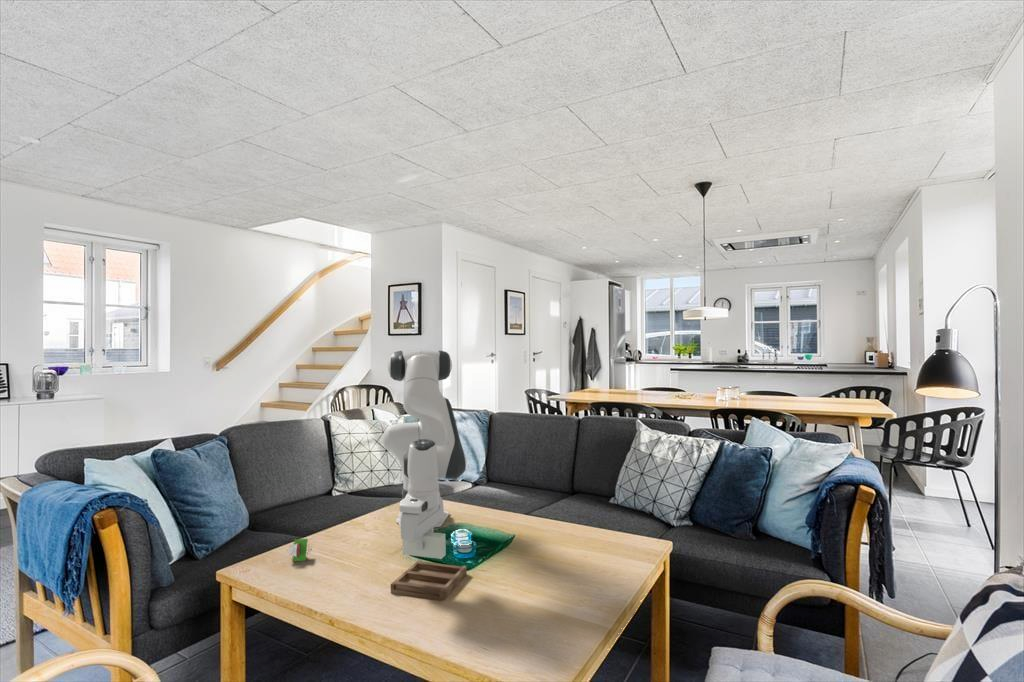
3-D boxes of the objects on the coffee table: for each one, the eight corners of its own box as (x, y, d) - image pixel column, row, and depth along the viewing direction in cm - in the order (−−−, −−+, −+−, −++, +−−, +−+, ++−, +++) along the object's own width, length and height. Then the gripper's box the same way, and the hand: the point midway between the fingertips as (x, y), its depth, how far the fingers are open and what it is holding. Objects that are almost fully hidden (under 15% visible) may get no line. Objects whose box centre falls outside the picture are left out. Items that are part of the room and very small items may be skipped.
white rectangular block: (407, 550, 158) (407, 529, 158) (445, 554, 155) (445, 533, 155) (402, 554, 156) (402, 533, 155) (441, 558, 152) (441, 537, 152)
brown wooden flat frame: (418, 567, 169) (418, 559, 169) (466, 574, 164) (466, 566, 164) (390, 593, 153) (390, 584, 153) (442, 600, 148) (442, 591, 148)
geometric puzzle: (294, 547, 181) (289, 533, 176) (315, 546, 182) (310, 532, 177) (289, 567, 176) (283, 553, 171) (310, 566, 176) (306, 552, 171)
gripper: (429, 487, 166) (430, 532, 166) (395, 507, 146) (396, 559, 146) (448, 488, 164) (449, 534, 164) (417, 510, 144) (417, 561, 145)
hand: (424, 546), depth 155 cm, fingers closed on white rectangular block, 3 cm apart
